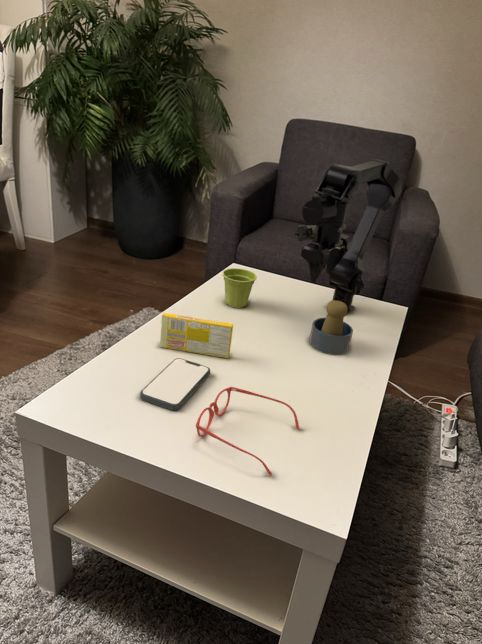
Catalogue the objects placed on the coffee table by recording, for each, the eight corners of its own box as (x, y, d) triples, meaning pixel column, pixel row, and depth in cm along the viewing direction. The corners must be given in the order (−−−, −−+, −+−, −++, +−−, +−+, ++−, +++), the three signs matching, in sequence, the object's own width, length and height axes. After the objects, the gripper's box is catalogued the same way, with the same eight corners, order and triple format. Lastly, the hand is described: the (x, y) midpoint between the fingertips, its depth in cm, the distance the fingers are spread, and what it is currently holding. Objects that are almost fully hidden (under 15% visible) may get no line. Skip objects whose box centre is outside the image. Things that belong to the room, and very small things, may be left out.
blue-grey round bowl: (319, 330, 143) (323, 313, 140) (354, 344, 139) (359, 327, 136) (302, 344, 135) (305, 326, 132) (338, 359, 131) (343, 341, 128)
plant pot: (218, 294, 153) (221, 266, 149) (251, 297, 155) (255, 269, 151) (219, 309, 145) (223, 279, 141) (254, 312, 147) (258, 282, 143)
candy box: (230, 354, 125) (234, 323, 121) (228, 359, 123) (232, 327, 119) (161, 343, 125) (163, 311, 121) (159, 347, 124) (161, 315, 120)
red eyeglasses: (227, 399, 109) (230, 379, 107) (301, 426, 105) (306, 405, 103) (185, 447, 95) (187, 425, 93) (269, 480, 91) (273, 458, 88)
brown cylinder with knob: (343, 341, 138) (353, 302, 133) (336, 350, 133) (346, 310, 128) (322, 333, 140) (330, 295, 134) (314, 342, 135) (322, 303, 130)
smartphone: (177, 413, 104) (212, 374, 117) (177, 407, 103) (212, 367, 116) (137, 399, 106) (175, 362, 119) (137, 393, 105) (176, 356, 118)
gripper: (320, 205, 143) (309, 260, 151) (286, 217, 128) (276, 277, 136) (358, 216, 138) (345, 272, 146) (328, 229, 124) (315, 291, 132)
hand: (320, 278), depth 140 cm, fingers open, 9 cm apart
